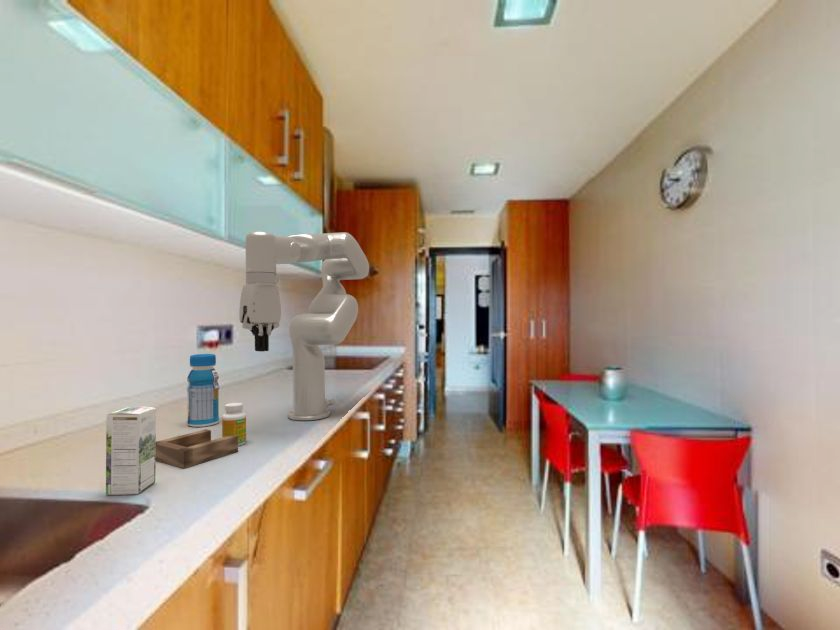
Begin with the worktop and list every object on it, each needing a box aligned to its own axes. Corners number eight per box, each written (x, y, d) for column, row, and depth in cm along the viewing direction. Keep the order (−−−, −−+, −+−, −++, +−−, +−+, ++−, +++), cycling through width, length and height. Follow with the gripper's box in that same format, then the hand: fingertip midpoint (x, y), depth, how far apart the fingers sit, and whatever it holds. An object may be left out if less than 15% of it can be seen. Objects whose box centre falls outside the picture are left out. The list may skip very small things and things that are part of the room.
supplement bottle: (237, 447, 106) (237, 407, 106) (217, 446, 107) (217, 406, 107) (250, 441, 111) (250, 402, 111) (231, 440, 112) (230, 401, 112)
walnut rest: (205, 444, 109) (205, 429, 109) (238, 451, 103) (238, 435, 103) (151, 459, 98) (151, 442, 98) (183, 468, 92) (183, 451, 92)
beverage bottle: (196, 429, 123) (195, 356, 123) (181, 424, 128) (180, 355, 128) (225, 423, 130) (224, 354, 130) (210, 419, 135) (209, 353, 135)
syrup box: (124, 483, 84) (123, 406, 84) (157, 482, 84) (156, 405, 84) (105, 496, 78) (104, 413, 78) (140, 494, 79) (139, 412, 79)
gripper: (274, 282, 125) (274, 348, 125) (226, 279, 112) (227, 352, 112) (293, 281, 121) (293, 349, 121) (246, 278, 108) (247, 354, 108)
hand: (261, 350), depth 116 cm, fingers closed
